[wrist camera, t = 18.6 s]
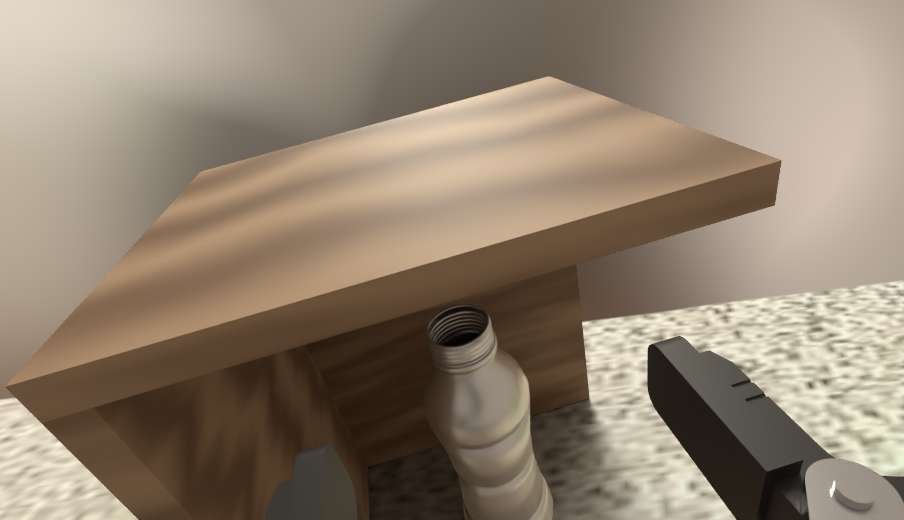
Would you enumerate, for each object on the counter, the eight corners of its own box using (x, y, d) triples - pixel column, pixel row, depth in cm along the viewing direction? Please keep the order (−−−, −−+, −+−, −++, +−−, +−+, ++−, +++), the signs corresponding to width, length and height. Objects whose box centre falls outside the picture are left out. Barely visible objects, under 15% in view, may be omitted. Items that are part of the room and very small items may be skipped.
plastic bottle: (570, 504, 36) (537, 297, 26) (534, 593, 31) (478, 385, 21) (496, 473, 39) (442, 280, 29) (455, 549, 35) (374, 352, 25)
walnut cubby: (714, 606, 29) (781, 160, 14) (351, 730, 27) (4, 386, 13) (582, 386, 45) (549, 76, 30) (351, 458, 44) (200, 171, 29)
